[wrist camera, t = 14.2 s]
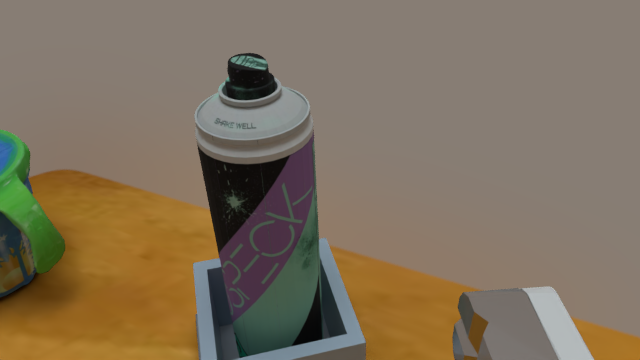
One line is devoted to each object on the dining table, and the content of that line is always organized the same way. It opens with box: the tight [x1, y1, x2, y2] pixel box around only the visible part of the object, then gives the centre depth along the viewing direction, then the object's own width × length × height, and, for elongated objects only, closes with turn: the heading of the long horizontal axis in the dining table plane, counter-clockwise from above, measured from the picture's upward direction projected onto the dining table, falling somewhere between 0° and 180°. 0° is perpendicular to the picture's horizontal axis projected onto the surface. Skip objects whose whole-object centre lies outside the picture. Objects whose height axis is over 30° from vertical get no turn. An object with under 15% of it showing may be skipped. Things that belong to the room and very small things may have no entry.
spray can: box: [194, 53, 324, 358], centre depth 30 cm, size 6×6×20 cm
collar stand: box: [193, 238, 366, 360], centre depth 34 cm, size 10×10×6 cm
